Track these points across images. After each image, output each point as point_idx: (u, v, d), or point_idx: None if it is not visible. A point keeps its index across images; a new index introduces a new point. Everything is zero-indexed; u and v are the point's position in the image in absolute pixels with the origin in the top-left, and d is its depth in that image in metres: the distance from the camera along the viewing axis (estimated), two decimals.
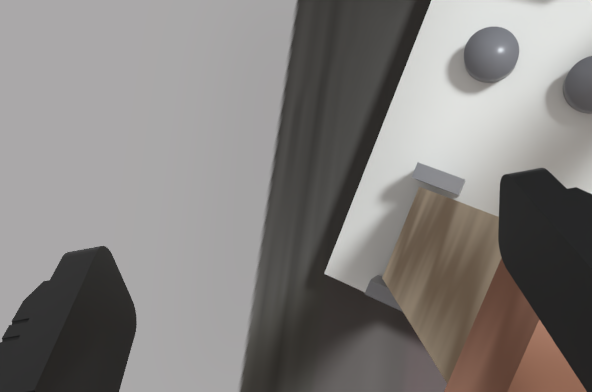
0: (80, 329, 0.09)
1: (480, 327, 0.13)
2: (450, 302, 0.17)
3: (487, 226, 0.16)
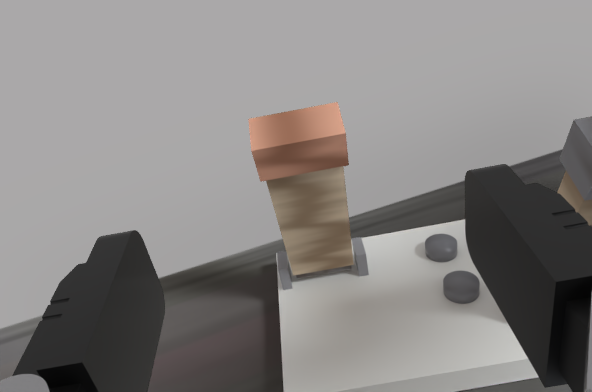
0: (118, 308, 0.09)
1: None
2: None
3: None
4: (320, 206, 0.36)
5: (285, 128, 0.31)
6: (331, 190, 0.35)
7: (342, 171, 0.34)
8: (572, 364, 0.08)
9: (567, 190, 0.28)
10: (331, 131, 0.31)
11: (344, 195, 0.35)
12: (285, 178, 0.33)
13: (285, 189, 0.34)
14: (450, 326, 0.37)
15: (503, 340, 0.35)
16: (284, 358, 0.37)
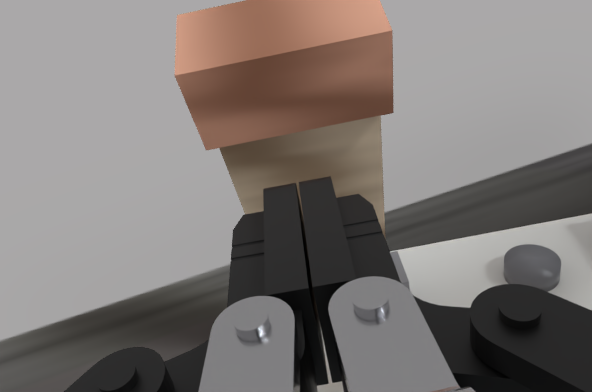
0: (305, 250, 0.10)
1: None
2: None
3: None
4: None
5: (253, 28, 0.14)
6: (353, 170, 0.18)
7: (378, 128, 0.16)
8: None
9: None
10: (357, 28, 0.13)
11: (379, 179, 0.18)
12: (260, 144, 0.16)
13: (262, 168, 0.17)
14: None
15: None
16: None
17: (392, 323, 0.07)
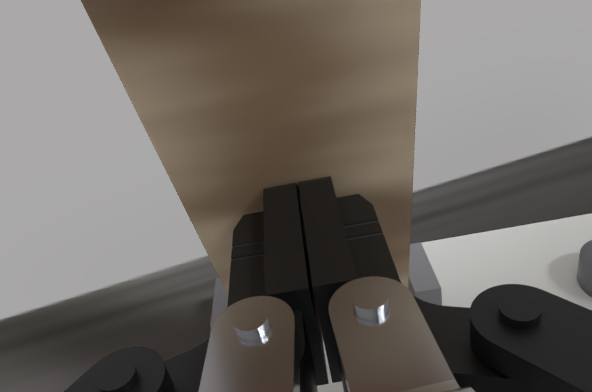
0: (305, 249, 0.10)
1: None
2: None
3: None
4: (320, 132, 0.10)
5: None
6: (361, 59, 0.09)
7: None
8: None
9: None
10: None
11: (410, 86, 0.09)
12: None
13: (176, 43, 0.08)
14: None
15: None
16: None
17: (392, 323, 0.07)
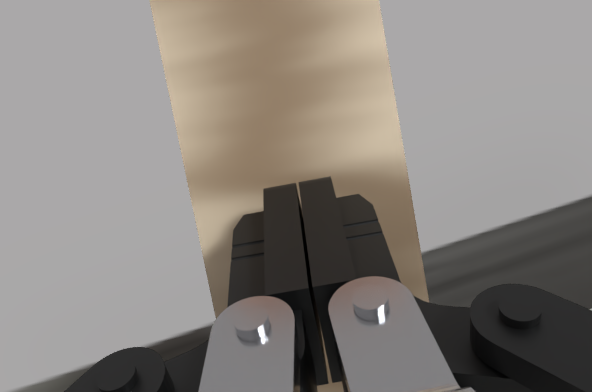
0: (305, 249, 0.10)
1: None
2: None
3: None
4: (309, 88, 0.12)
5: None
6: (336, 13, 0.12)
7: None
8: None
9: None
10: None
11: (379, 40, 0.12)
12: None
13: None
14: None
15: None
16: None
17: (392, 323, 0.07)
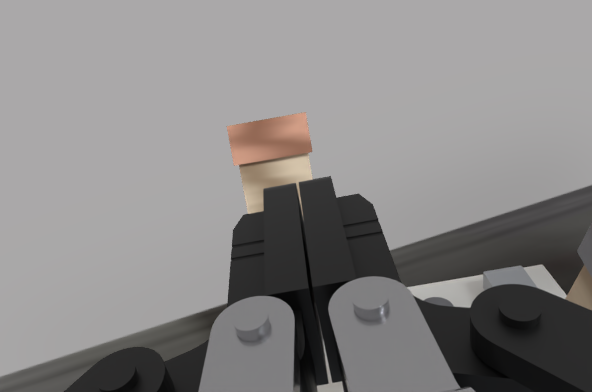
0: (305, 249, 0.10)
1: None
2: None
3: None
4: None
5: None
6: None
7: (309, 165, 0.37)
8: None
9: (586, 286, 0.23)
10: (294, 114, 0.37)
11: None
12: (257, 169, 0.37)
13: (258, 184, 0.37)
14: None
15: None
16: None
17: (392, 323, 0.07)
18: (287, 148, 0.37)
